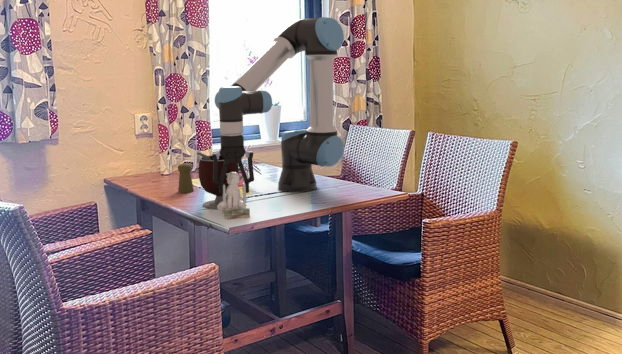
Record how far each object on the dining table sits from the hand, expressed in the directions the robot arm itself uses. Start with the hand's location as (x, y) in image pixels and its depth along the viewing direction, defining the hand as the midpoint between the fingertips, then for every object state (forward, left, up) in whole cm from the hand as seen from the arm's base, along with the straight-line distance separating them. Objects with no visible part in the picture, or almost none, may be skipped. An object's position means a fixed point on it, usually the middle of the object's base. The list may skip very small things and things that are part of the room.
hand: (234, 203), depth 209 cm
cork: (+14, -41, -4) cm, 44 cm away
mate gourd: (+4, -13, -4) cm, 14 cm away
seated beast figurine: (+1, 0, -2) cm, 2 cm away
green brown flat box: (0, +1, -4) cm, 4 cm away
